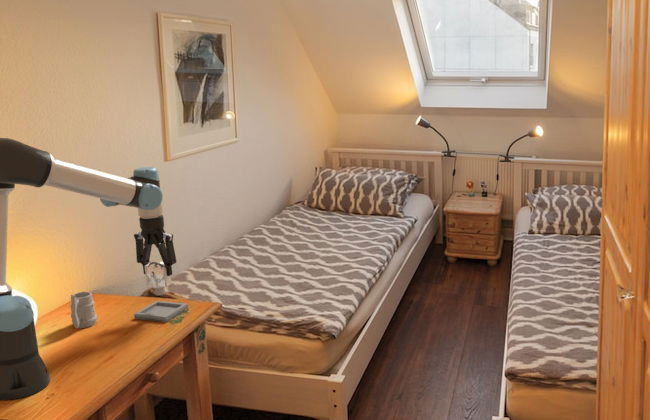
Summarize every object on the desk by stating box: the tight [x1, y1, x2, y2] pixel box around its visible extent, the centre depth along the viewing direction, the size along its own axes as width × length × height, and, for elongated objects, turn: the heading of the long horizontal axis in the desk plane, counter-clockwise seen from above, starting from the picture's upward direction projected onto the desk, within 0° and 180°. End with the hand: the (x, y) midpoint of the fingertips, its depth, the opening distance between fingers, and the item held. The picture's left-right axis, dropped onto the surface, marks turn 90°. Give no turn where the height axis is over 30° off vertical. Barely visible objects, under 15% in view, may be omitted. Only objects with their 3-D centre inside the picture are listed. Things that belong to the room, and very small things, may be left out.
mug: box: [70, 291, 98, 329], centre depth 221 cm, size 8×12×12 cm, turn 177°
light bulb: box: [147, 259, 166, 297], centre depth 227 cm, size 7×7×12 cm
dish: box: [133, 300, 189, 323], centre depth 229 cm, size 12×12×2 cm
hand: (159, 284), depth 227 cm, fingers closed on light bulb, 6 cm apart
